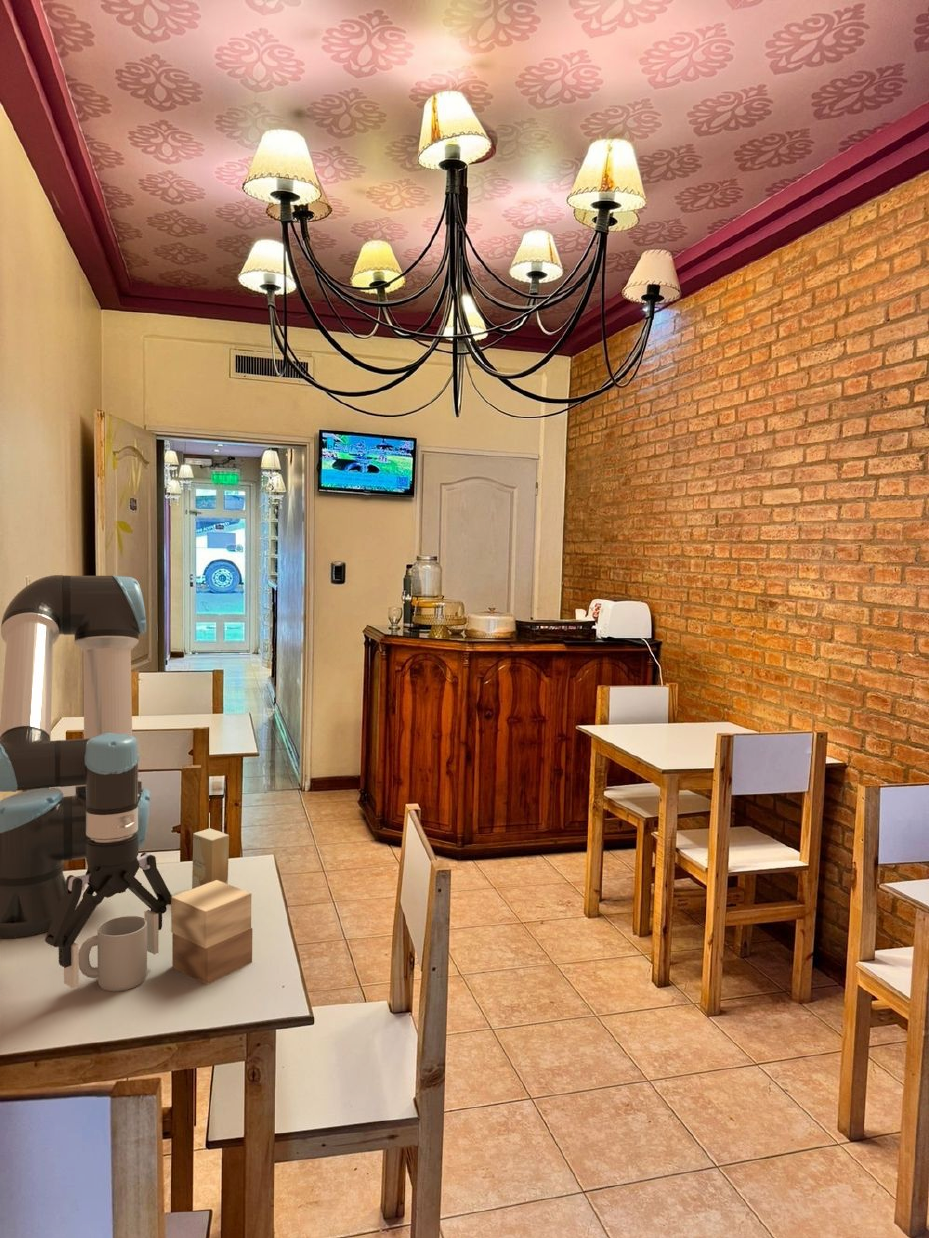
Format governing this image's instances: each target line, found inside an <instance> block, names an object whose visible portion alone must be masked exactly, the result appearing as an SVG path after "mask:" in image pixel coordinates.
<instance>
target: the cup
mask: <svg viewBox="0 0 929 1238" xmlns="http://www.w3.org/2000/svg"><path fill="white" fill-rule="evenodd" d="M96 946H97V966H95V967H94V966H92V965H91V960H90V953H91V951H92V948H93V947H96ZM78 957H79V970H80V972H81V974H82V975H84V976H85V977H87V978H89V979H90V978H91V979H97V983H98V985H99V987H100V988H102V990H104V991H108V992H123V991H127V990H131V989H133V988H136V987H137V986H139V985H141V984H142V983H143V982H144V981H145V979H146V977H147V975H148V951H147V921H146V920H145V919H144V918H143V917H141V916H138V915H137V916H136V915H125V916H124V915H122V916H118V917H113V918H110V919H108V920H106V921H104V922H102V923H101V924H100V925H98V926H97V934H96V935H93V936H90V937H88V938H86V939H85V940H84V941H83V943H82V944H81V946H80V948H78Z"/></svg>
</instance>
